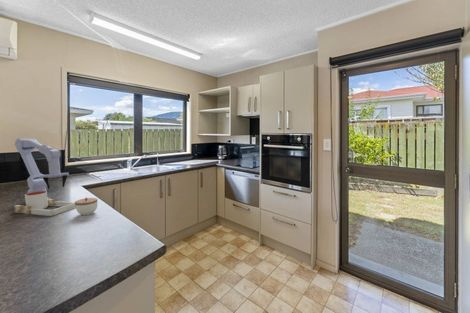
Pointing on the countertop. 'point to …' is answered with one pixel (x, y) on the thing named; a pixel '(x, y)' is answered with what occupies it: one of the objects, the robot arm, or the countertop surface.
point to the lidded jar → (86, 206)
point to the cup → (37, 199)
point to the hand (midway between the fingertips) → (56, 187)
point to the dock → (63, 207)
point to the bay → (28, 208)
